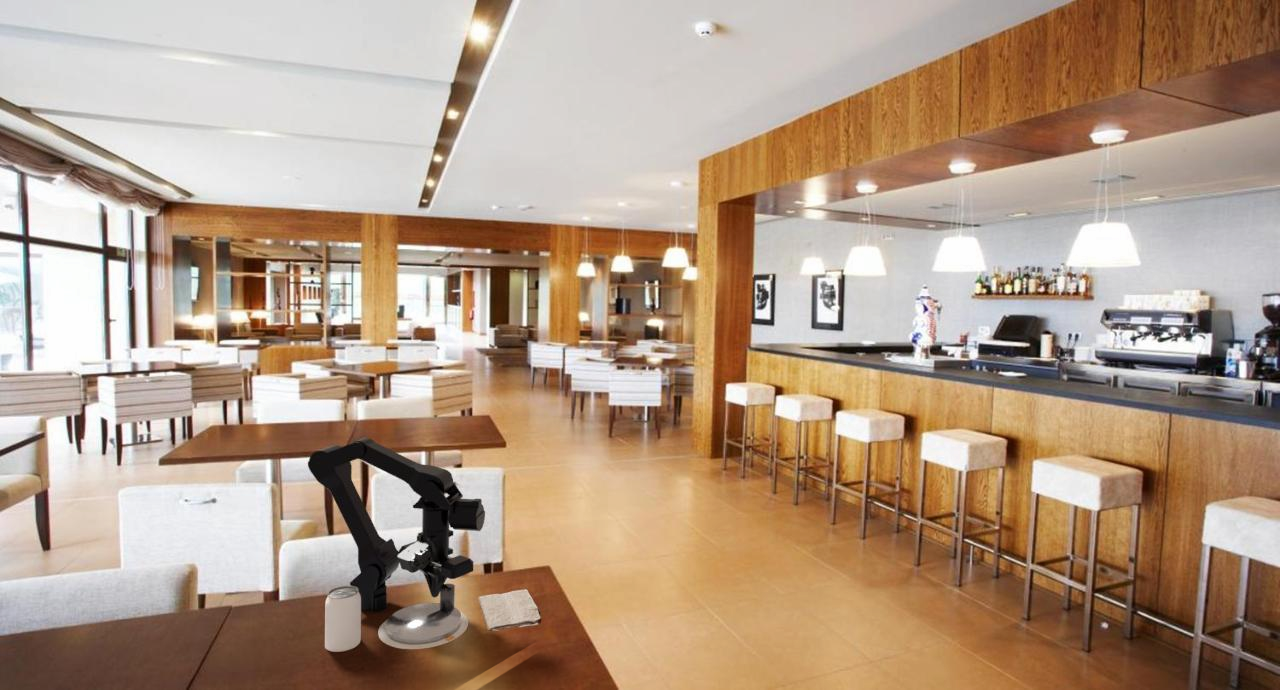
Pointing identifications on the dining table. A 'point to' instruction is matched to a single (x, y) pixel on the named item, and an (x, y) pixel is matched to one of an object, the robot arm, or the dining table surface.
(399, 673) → the dining table surface
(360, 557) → the robot arm
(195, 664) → the dining table surface
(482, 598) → the washcloth
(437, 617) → the dial
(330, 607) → the can
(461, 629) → the dial base
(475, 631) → the dining table surface
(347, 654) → the dining table surface
